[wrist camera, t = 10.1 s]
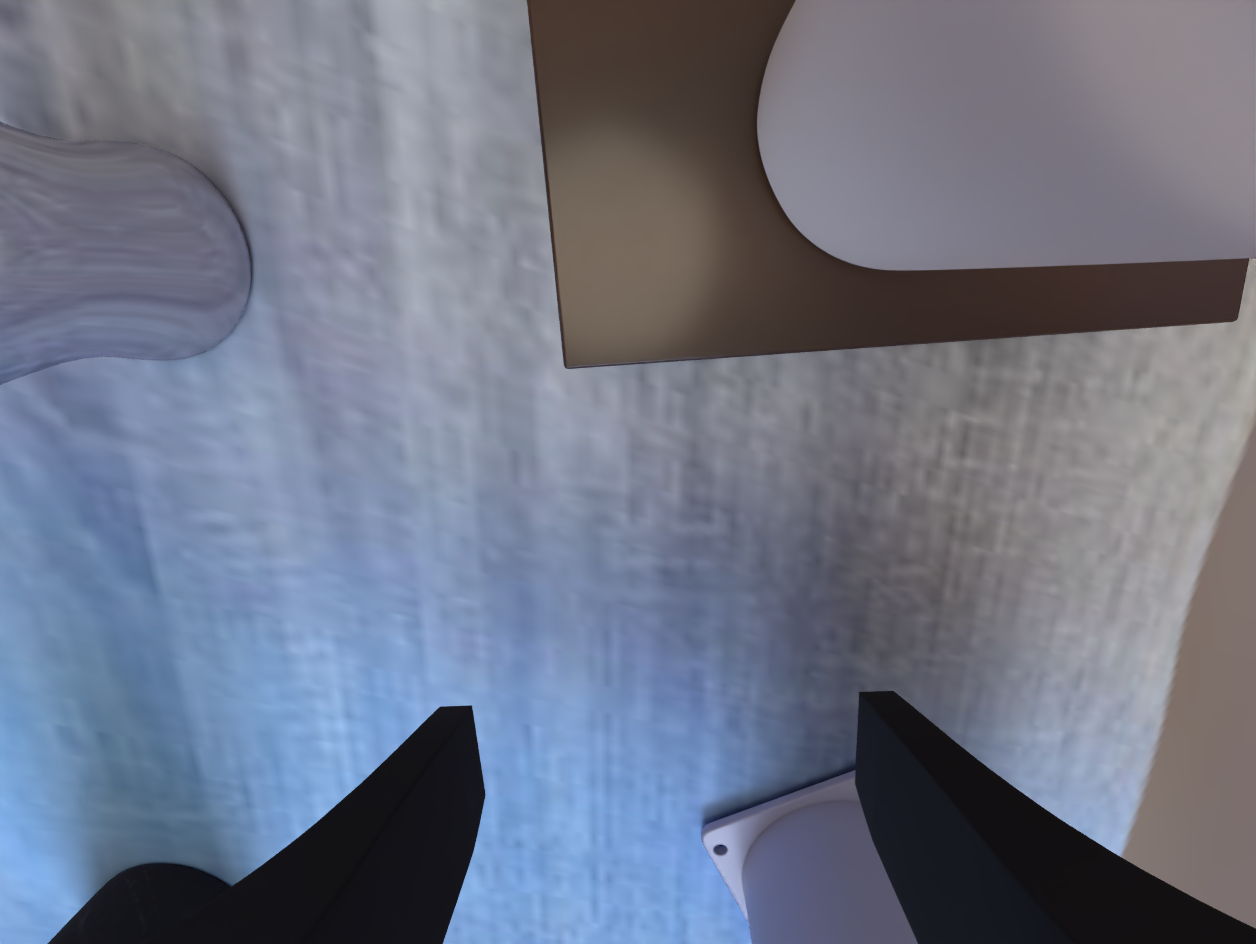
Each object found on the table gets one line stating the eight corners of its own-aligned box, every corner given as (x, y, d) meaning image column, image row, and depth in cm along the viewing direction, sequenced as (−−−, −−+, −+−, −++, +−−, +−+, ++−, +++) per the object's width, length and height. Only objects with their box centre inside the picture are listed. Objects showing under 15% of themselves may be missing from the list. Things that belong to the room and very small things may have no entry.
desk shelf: (1118, 313, 19) (1279, 324, 14) (579, 352, 20) (558, 375, 15) (1176, -97, 16) (1403, -258, 11) (543, -33, 17) (503, -159, 12)
